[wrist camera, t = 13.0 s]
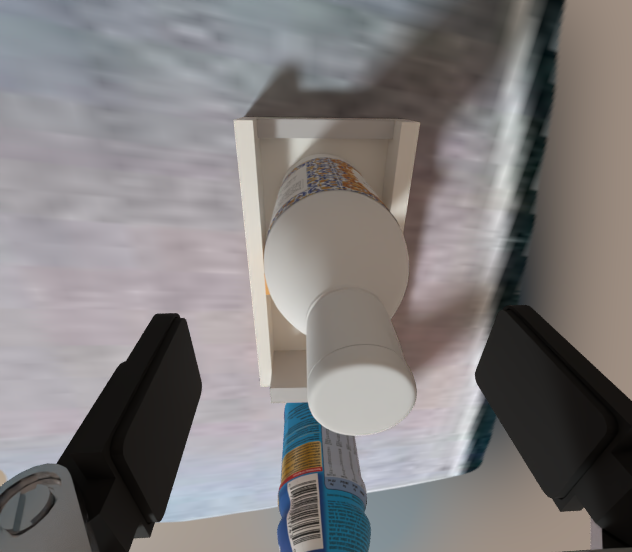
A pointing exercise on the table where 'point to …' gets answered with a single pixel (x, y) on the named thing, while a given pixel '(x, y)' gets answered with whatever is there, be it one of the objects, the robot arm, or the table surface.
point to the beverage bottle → (320, 488)
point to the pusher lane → (260, 198)
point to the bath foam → (342, 293)
